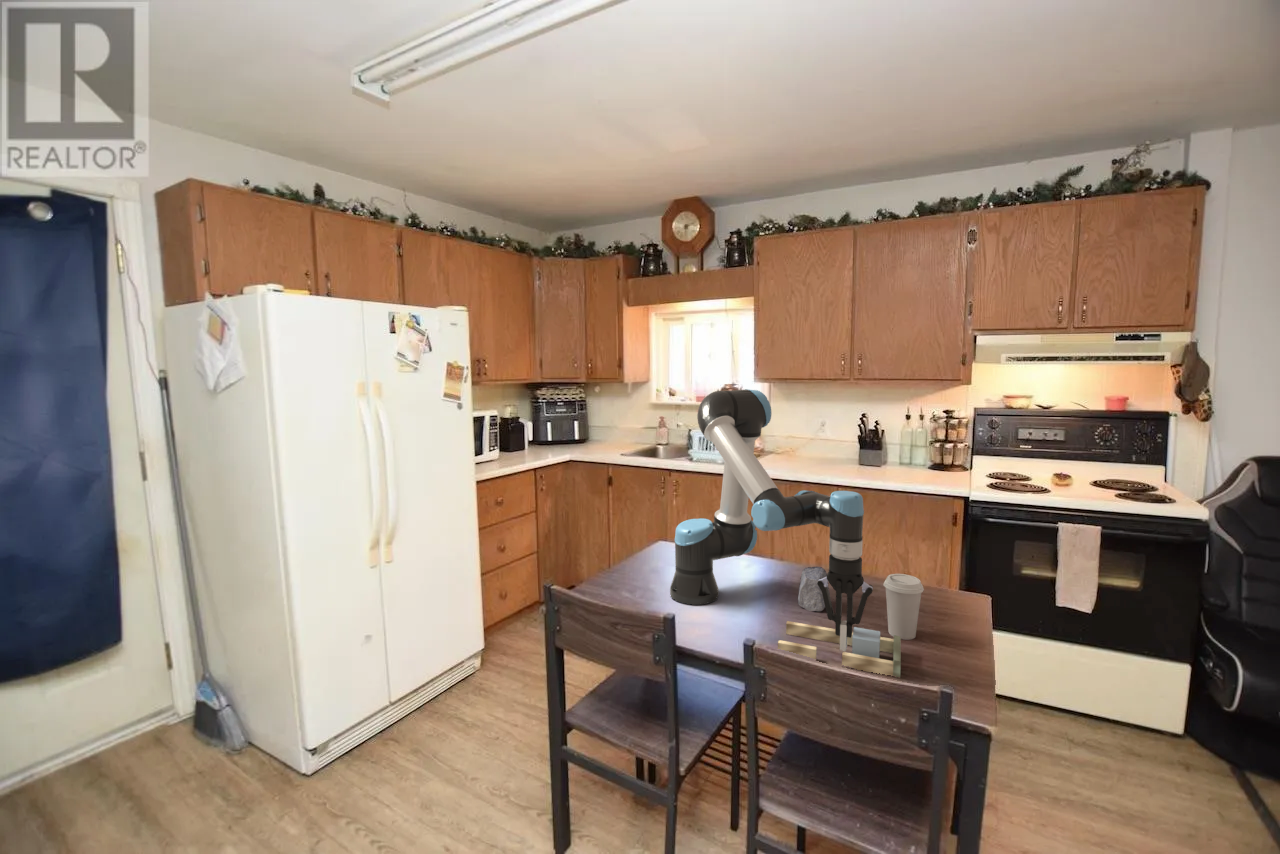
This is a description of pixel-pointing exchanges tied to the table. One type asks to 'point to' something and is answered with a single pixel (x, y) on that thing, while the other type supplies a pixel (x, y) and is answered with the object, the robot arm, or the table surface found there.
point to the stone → (811, 589)
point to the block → (866, 642)
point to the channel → (847, 658)
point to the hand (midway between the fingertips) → (843, 648)
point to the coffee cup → (903, 604)
